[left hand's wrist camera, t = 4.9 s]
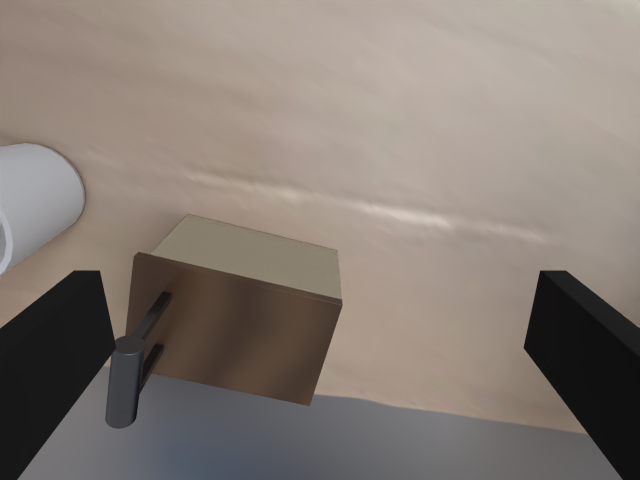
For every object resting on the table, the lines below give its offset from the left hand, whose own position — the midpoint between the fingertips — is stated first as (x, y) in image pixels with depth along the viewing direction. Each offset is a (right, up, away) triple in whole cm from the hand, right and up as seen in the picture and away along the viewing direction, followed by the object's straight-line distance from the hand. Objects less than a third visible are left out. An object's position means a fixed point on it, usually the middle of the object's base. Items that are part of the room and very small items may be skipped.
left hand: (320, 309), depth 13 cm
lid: (-7, -5, +19) cm, 21 cm away
